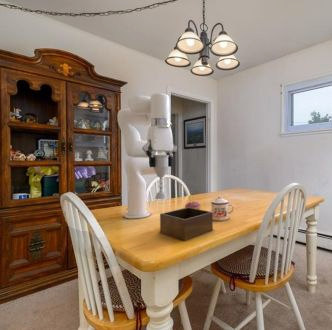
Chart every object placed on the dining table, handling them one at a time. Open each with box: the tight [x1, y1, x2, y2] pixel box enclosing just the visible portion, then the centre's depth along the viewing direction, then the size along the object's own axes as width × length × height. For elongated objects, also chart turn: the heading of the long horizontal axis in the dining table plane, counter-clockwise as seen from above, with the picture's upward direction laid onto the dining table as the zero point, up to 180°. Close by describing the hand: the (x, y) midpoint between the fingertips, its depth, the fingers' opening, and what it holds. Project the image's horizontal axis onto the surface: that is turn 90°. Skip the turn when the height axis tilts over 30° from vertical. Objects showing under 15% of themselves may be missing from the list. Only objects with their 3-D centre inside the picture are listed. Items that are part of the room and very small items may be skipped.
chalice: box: [154, 154, 169, 200], centre depth 94 cm, size 7×7×18 cm
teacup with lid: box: [210, 195, 235, 222], centre depth 116 cm, size 12×9×12 cm
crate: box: [159, 207, 214, 242], centre depth 95 cm, size 16×16×8 cm
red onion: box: [184, 194, 202, 210], centre depth 123 cm, size 9×8×12 cm
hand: (160, 166), depth 93 cm, fingers closed on chalice, 7 cm apart
